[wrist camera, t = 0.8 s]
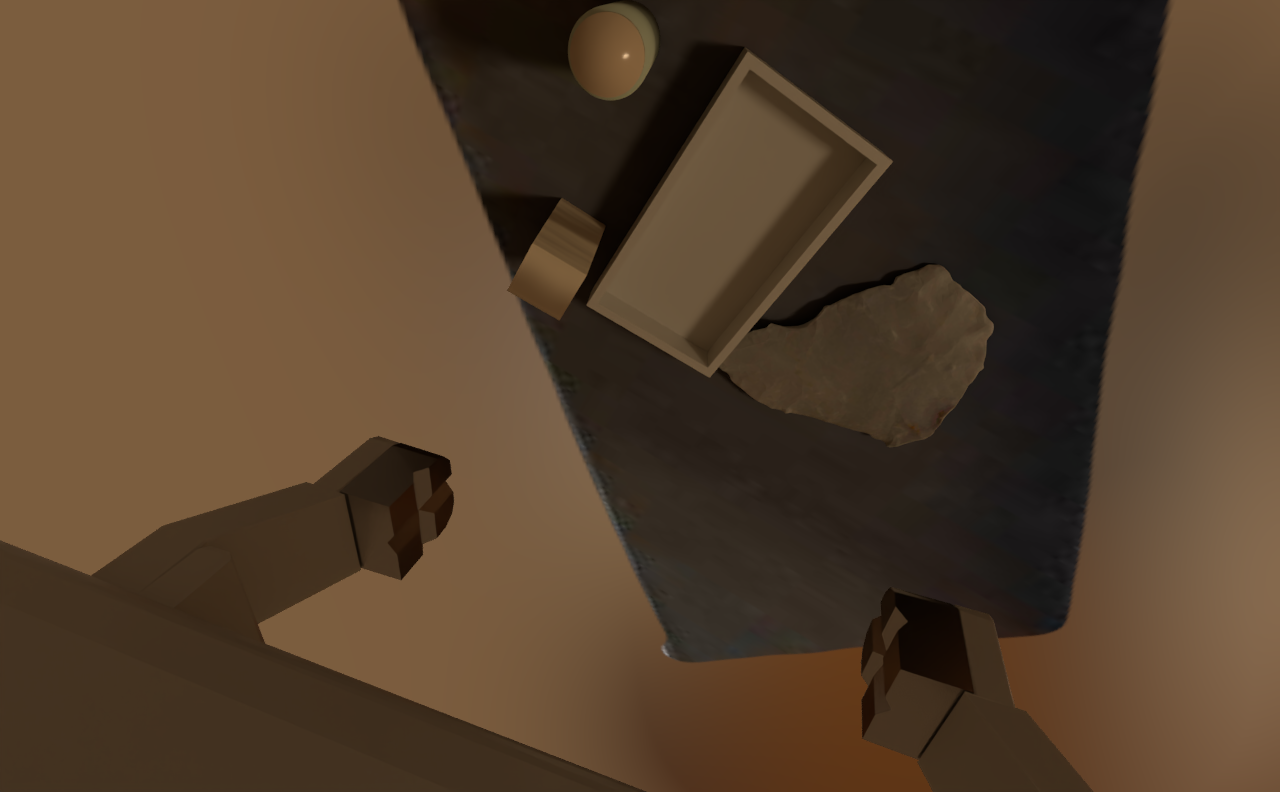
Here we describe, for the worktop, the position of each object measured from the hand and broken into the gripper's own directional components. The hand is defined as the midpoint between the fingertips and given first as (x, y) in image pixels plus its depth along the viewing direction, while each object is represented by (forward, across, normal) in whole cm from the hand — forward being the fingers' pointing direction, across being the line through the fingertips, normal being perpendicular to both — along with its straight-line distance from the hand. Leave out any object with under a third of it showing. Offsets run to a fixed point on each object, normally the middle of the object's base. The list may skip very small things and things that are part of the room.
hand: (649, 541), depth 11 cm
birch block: (+42, +19, +9) cm, 47 cm away
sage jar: (+42, +15, -6) cm, 45 cm away
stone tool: (+49, -8, +18) cm, 53 cm away
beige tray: (+45, +6, +7) cm, 46 cm away
